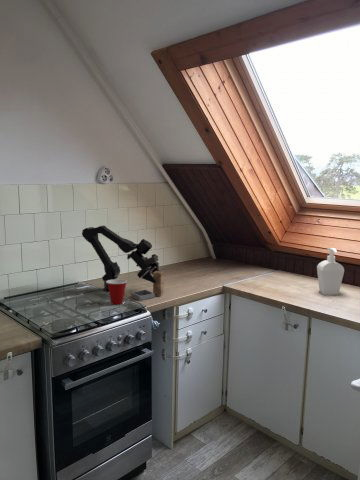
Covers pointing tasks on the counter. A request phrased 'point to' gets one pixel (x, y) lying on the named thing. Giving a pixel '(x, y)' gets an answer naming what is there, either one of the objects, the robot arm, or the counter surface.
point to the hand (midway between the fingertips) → (158, 280)
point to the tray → (142, 295)
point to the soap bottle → (330, 275)
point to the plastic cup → (116, 290)
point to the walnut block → (158, 283)
